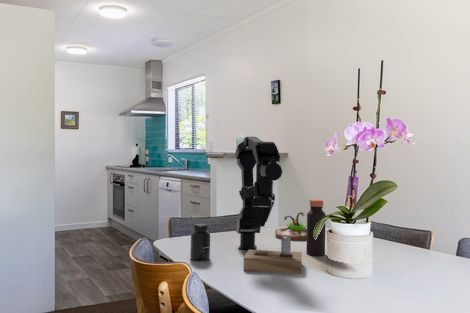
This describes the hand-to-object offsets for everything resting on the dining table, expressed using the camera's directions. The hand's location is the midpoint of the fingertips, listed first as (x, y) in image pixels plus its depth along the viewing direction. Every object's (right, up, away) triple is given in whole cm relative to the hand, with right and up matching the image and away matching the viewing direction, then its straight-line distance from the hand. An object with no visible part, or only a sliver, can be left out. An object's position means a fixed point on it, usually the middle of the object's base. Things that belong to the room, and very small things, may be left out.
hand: (263, 224), depth 151 cm
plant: (+18, -13, +47) cm, 52 cm away
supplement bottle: (-22, -13, +4) cm, 26 cm away
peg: (+7, -13, -7) cm, 16 cm away
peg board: (+3, -13, -6) cm, 15 cm away
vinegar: (+20, -13, +13) cm, 27 cm away
